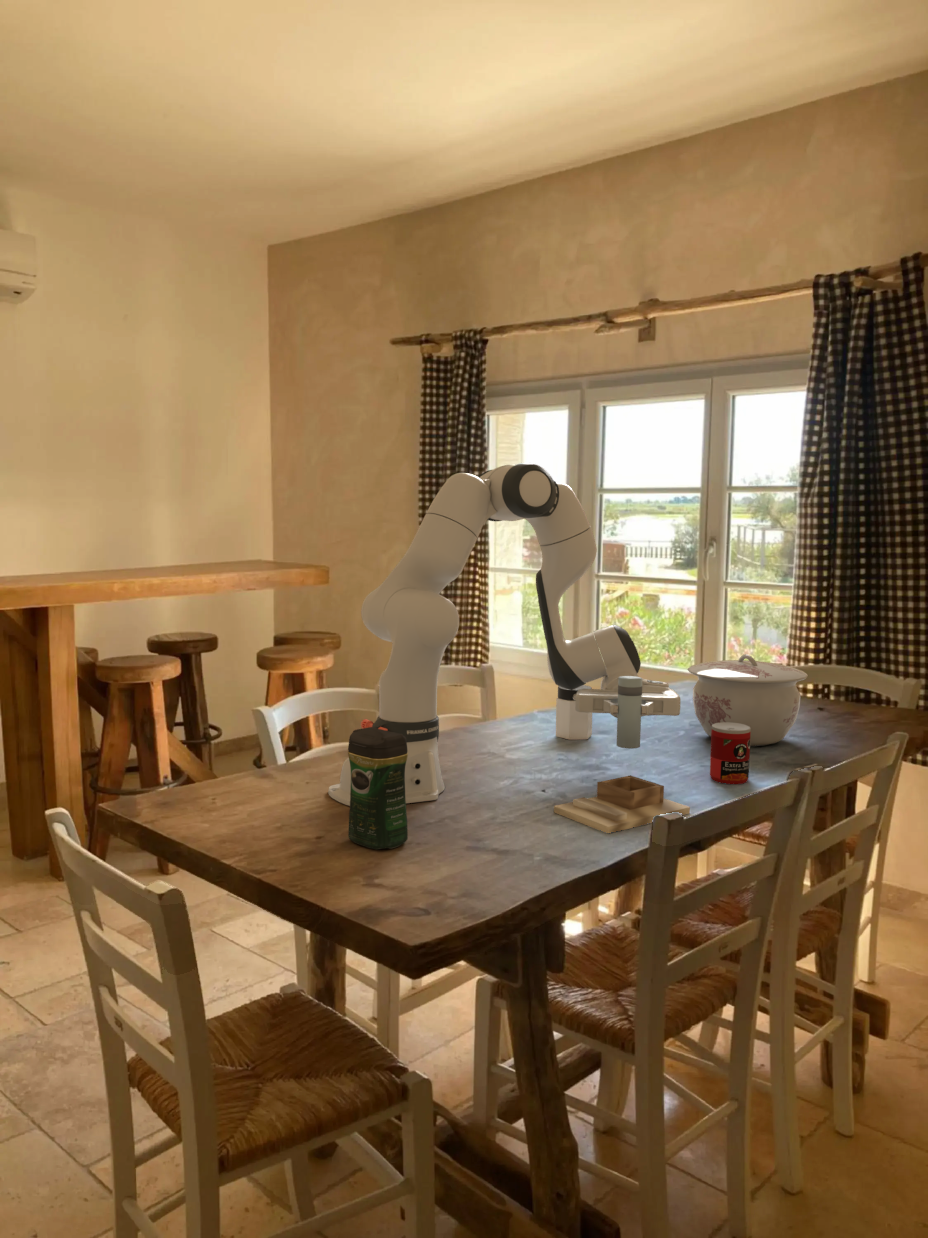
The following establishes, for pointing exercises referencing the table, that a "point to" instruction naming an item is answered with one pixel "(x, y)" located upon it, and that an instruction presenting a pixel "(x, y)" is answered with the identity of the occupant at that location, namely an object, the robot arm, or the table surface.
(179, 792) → the table surface
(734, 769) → the canned food
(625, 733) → the insulated water bottle
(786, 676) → the chamber pot
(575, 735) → the jar
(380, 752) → the coffee jar
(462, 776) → the table surface
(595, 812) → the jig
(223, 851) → the table surface
